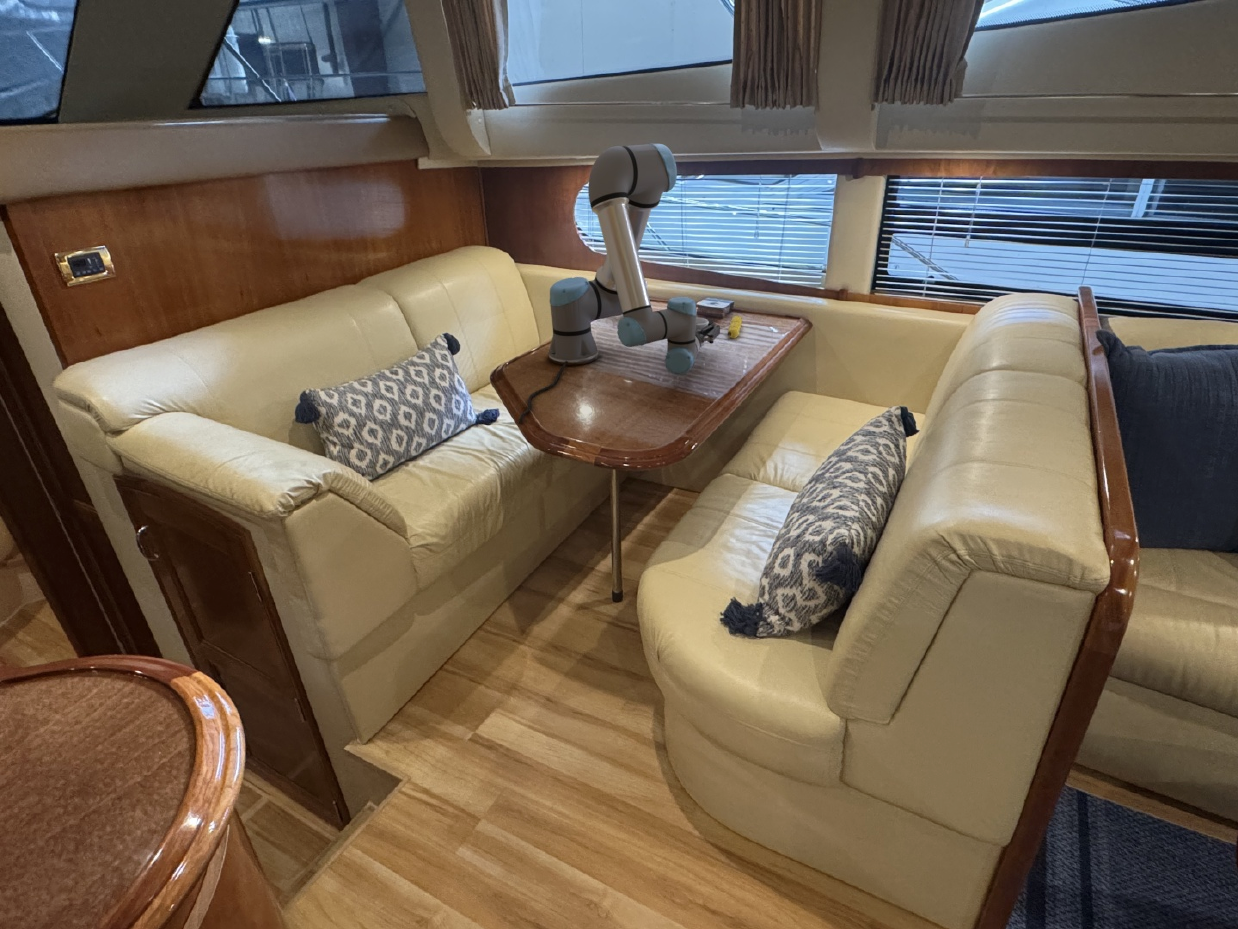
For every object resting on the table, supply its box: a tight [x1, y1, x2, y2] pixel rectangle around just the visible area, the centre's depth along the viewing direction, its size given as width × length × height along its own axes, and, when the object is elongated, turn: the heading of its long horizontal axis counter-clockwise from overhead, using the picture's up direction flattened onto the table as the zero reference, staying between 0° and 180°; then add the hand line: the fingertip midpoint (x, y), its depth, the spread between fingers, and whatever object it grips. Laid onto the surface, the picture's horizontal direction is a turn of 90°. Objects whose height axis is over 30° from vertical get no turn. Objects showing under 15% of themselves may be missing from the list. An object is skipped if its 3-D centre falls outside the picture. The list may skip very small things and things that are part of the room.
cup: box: [696, 316, 710, 349], centre depth 204 cm, size 11×8×8 cm
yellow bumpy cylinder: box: [726, 315, 743, 339], centre depth 221 cm, size 17×4×4 cm, turn 166°
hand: (698, 321), depth 207 cm, fingers closed on cup, 8 cm apart
